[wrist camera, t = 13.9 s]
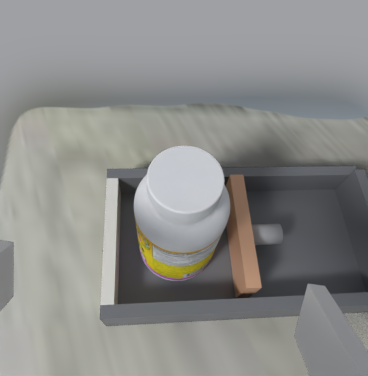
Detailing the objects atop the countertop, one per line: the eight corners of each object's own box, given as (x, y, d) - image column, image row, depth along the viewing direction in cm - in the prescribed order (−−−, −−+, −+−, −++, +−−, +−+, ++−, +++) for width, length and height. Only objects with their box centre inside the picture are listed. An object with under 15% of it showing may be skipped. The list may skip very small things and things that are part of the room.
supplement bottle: (150, 207, 34) (146, 121, 22) (217, 222, 33) (248, 143, 22) (130, 274, 30) (115, 214, 19) (204, 291, 30) (233, 240, 19)
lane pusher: (263, 194, 35) (275, 174, 31) (282, 296, 30) (299, 285, 27) (222, 195, 35) (230, 174, 31) (235, 298, 30) (246, 288, 26)
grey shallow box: (337, 185, 38) (361, 160, 33) (375, 311, 31) (411, 300, 27) (111, 189, 35) (106, 163, 31) (106, 326, 29) (97, 317, 25)
